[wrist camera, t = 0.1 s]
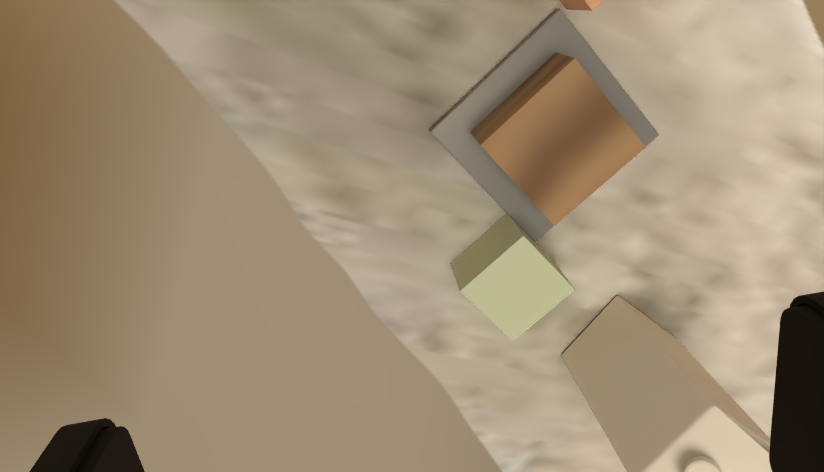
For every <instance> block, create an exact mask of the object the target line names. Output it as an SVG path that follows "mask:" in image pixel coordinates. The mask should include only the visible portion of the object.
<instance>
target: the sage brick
mask: <svg viewBox="0 0 824 472" xmlns="http://www.w3.org/2000/svg"><path fill="white" fill-rule="evenodd" d="M451 267H452V270H453V273H454V275H455V278H456V281H457V284H458V287H459V290H460V292H461V293H462V294H464V295H465V296H466V297H467V298H468V299H469V300H470V301H471V302H472V303H473V304H474V305H475V306H476V307H477V308H478V309H479V310H480V311H481V312H483V313H484V314H485V315H486V316H487V317H488V318H489V319H490V320H491V321H492V322H493V323H494V324H495V325H496V326H497V327H498V328H499V329H500V330H501V331H503V332H504V333H505V334H506V335H507V336H508V337H509V338H510V339H511V340H512V341H514V340H515V339H516V338H518V337H519V336H520V335H521V334H522V333H524V332H525V331H526V330H527V329H528V328H530V327H531V326H532V325H533V324H534V323H536V322H537V321H538V320H539V319H540V318H542V317H543V316H544V315H545V314H546V313H548V312H549V311H550V310H551V309H552V308H554V307H555V306H556V305H557V304H558V303H560V302H561V301H562V300H563V299H564V298H566V297H567V296H568V295H569V294H570V293H572V292H573V291H574V290H575V289H574V288H573V286H572V285H571V283H570V282H569V281H568V279H567V278H566V277H565V275H564V274H563V273H562V271H561V270H560V269H559V267H558V266H557V265H556V263H555V262H554V261H553V260H552V259H551V258H550V257H549V256H548V255H547V254H546V253H545V252H544V251H543V249H542V248H541V247H540V246H539V245H538V244H537V243H536V242H534V241H533V240H532V239H531V238H530V236H529V235H528V234H527V233H526V232H525V231H524V230H523V229H522V228H521V227H520V226H519V225H518V224H517V223H516V222H515V221H514V220H513V219H512V217H511V216H510V215H509V214H508V213H507V214H506V215H504V216H503V217H502V218H501V219H500V220H499V221H498V222H497V223H496V224H494V225H493V226H492V227H491V228H490V229H489V230H488V231H487V232H485V233H484V234H483V235H482V236H481V237H480V238H479V239H478V240H476V241H475V242H474V243H473V244H472V245H471V246H470V247H469V248H467V249H466V250H465V251H464V252H463V253H462V254H461V255H460V256H458V257H457V258H456V259H455V260H454V261H453V262H452V263H451Z"/></svg>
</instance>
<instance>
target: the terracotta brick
mask: <svg viewBox="0 0 824 472" xmlns="http://www.w3.org/2000/svg"><path fill="white" fill-rule="evenodd" d="M560 1H561V2H562V4H563V5H564V6H565V7H566V9H575V10H590V11H593V10H594V9H595V8H596V7H597V6H598V5H599V4H600V3H601V2H602V1H603V0H560Z"/></svg>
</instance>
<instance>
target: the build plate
mask: <svg viewBox="0 0 824 472" xmlns="http://www.w3.org/2000/svg"><path fill="white" fill-rule="evenodd" d="M555 53H559V54H563V55H566V56H570V57H573V58H575V59H576V60H577V61H578V62H579V64H580V65H581V66H582V68H583V69H584V70H585V71H586V73H587V74H588V75H589V76H590V78H591V79H592V80H593V81H594V83H595V84H596V85H597V86H598V88H599V89H600V90H601V91H602V93H603V94H604V95H605V96H606V98H607V99H608V100H609V101H610V103H611V104H612V105H613V106H614V108H615V109H616V110H617V111H618V113H619V114H620V115H621V116H622V118H623V119H624V120H625V121H626V123H627V124H628V125H629V126H630V128H631V129H632V130H633V131H634V133H635V134H636V135H637V136H638V138H639V139H640V140H641V141H642V143H643V144H644V145H645V146H647V145H648V144H649V143H650V142H651V141H653V140H654V139H655V138H656V137H657V136H658V135H659V134H658V133H657V132H656V130H655V129H654V128H653V127H652V125H651V124H650V123H649V121H648V120H647V119H646V118H645V116H644V115H643V114H642V112H641V111H640V110H639V109H638V107H637V106H636V105H635V104H634V102H633V101H632V100H631V98H630V97H629V96H628V95H627V93H626V92H625V91H624V89H623V88H622V87H621V86H620V84H619V83H618V82H617V80H616V79H615V78H614V77H613V75H612V74H611V73H610V72H609V70H608V69H607V68H606V66H605V65H604V64H603V63H602V61H601V60H600V59H599V57H598V56H597V55H596V54H595V52H594V51H593V50H592V49H591V47H590V46H589V45H588V43H587V42H586V41H585V40H584V38H583V37H582V36H581V34H580V33H579V32H578V31H577V29H576V28H575V27H574V25H573V24H572V23H571V22H570V20H569V19H568V18H567V17H566V15H565V14H564V13H563V11H562V10H561V9H556V10H555V11H554V12H553V13H552V14H551V15H550V16H549V17H548V18H547V19H546V20H545V21H544V22H542V23H541V24H540V25H539V26H538V27H537V28H536V29H535V30H534V31H533V32H532V33H531V34H530V35H529V36H528V37H527V38H526V39H525V40H523V41H522V42H521V43H520V44H519V45H518V46H517V47H516V48H515V49H514V50H513V51H512V52H511V53H510V54H509V55H508V56H507V57H506V58H505V59H503V60H502V61H501V62H500V63H499V64H498V65H497V66H496V67H495V68H494V69H493V70H492V71H491V72H490V73H489V74H488V75H487V76H486V77H485V78H483V79H482V80H481V81H480V82H479V83H478V84H477V85H476V86H475V87H474V88H473V89H472V90H471V91H470V92H469V93H468V94H467V95H466V96H464V97H463V98H462V99H461V100H460V101H459V102H458V103H457V104H456V105H455V106H454V107H453V108H452V109H451V110H450V111H449V112H448V113H447V114H446V115H444V116H443V117H442V118H441V119H440V120H439V121H438V122H437V123H436V124H435V125H434V126H433V127H432V128H431V129H430V132H431V133H432V134H433V135H434V136H435V137H436V138H437V139H438V140H439V141H440V142H441V144H442V145H443V146H444V147H445V148H446V149H447V150H448V151H449V152H450V153H451V154H452V155H453V156H454V157H455V158H456V159H457V160H458V161H459V163H460V164H461V165H462V166H463V167H464V168H465V169H466V170H467V171H468V172H469V173H470V174H471V175H472V176H473V177H474V178H475V179H476V180H477V182H478V183H479V184H480V185H481V186H482V187H483V188H484V189H485V190H486V191H487V192H488V193H489V194H490V195H491V196H492V197H493V198H494V200H495V201H496V202H497V203H498V204H499V205H500V206H501V207H502V208H503V209H504V210H505V211H506V212H507V213H508V214H509V215H510V216H511V217H512V219H513V220H514V221H515V222H516V223H517V224H518V225H519V226H520V227H521V228H522V229H523V230H524V231H525V232H526V233H527V234H528V235H529V236H530V238H531V239H532V240H533V241H534V242H536V241H537V240H538V239H539V238H540V237H541V236H543V235H544V234H545V233H546V232H547V231H548V230H550V229H551V228H552V227H553V226H554V225H553V224H552V223H551V221H550V220H549V219H548V218H547V217H546V216H545V215H544V214H543V213H542V212H541V211H540V209H539V208H538V207H537V206H536V205H535V204H534V203H533V202H532V201H531V200H530V199H529V198H528V196H527V195H526V194H525V193H524V192H523V191H522V190H521V189H520V188H519V187H518V186H517V184H516V183H515V182H514V181H513V180H512V179H511V178H510V177H509V176H508V175H507V174H506V173H505V171H504V170H503V169H502V168H501V167H500V166H499V165H498V164H497V163H496V162H495V161H494V159H493V158H492V157H491V156H490V155H489V154H488V153H487V152H486V151H485V150H484V149H483V147H482V146H481V145H480V144H479V143H478V142H477V141H476V139H475V138H474V137H473V136H472V135H471V133H470V132H471V131H472V130H473V129H474V128H475V127H476V126H477V125H479V124H480V123H481V122H482V121H483V120H484V119H485V118H486V117H487V116H488V115H489V114H490V113H491V112H492V111H494V110H495V109H496V108H497V107H498V106H499V105H500V104H501V103H502V102H503V101H504V100H505V99H506V98H507V97H509V96H510V95H511V94H512V93H513V92H514V91H515V90H516V89H517V88H518V87H519V86H520V85H521V84H523V83H524V82H525V81H526V80H527V79H528V78H529V77H530V76H531V75H532V74H533V73H534V72H535V71H536V70H538V69H539V68H540V67H541V66H542V65H543V64H544V63H545V62H546V61H547V60H548V59H549V58H550V57H551V56H553V55H554V54H555Z"/></svg>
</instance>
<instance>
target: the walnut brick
mask: <svg viewBox="0 0 824 472" xmlns="http://www.w3.org/2000/svg"><path fill="white" fill-rule="evenodd" d="M470 133H471V135H472V136H473V137H474V138H475V139H476V141H477V142H478V143H479V144H480V145H481V146H482V147H483V149H484V150H485V151H486V152H487V153H488V154H489V155H490V156H491V157H492V158H493V159H494V161H495V162H496V163H497V164H498V165H499V166H500V167H501V168H502V169H503V170H504V171H505V173H506V174H507V175H508V176H509V177H510V178H511V179H512V180H513V181H514V182H515V183H516V184H517V186H518V187H519V188H520V189H521V190H522V191H523V192H524V193H525V194H526V195H527V196H528V198H529V199H530V200H531V201H532V202H533V203H534V204H535V205H536V206H537V207H538V208H539V209H540V211H541V212H542V213H543V214H544V215H545V216H546V217H547V218H548V219H549V220H550V221H551V223H552V224H553V225H554V226H555V225H556V224H557V223H558V222H560V221H561V220H562V219H563V218H564V217H565V216H567V215H568V214H569V213H570V212H571V211H572V210H574V209H575V208H576V207H577V206H578V205H579V204H580V203H582V202H583V201H584V200H585V199H586V198H587V197H589V196H590V195H591V194H592V193H593V192H594V191H596V190H597V189H598V188H599V187H600V186H601V185H603V184H604V183H605V182H606V181H607V180H608V179H609V178H611V177H612V176H613V175H614V174H615V173H616V172H618V171H619V170H620V169H621V168H622V167H623V166H625V165H626V164H627V163H628V162H629V161H630V160H631V159H633V158H634V157H635V156H636V155H637V154H638V153H640V152H641V151H642V150H643V149H644V148H645V147H646V146H645V145H644V144H643V143H642V141H641V140H640V139H639V138H638V136H637V135H636V134H635V133H634V131H633V130H632V129H631V128H630V126H629V125H628V124H627V123H626V121H625V120H624V119H623V118H622V116H621V115H620V114H619V113H618V111H617V110H616V109H615V108H614V106H613V105H612V104H611V103H610V101H609V100H608V99H607V98H606V96H605V95H604V94H603V93H602V91H601V90H600V89H599V88H598V86H597V85H596V84H595V83H594V81H593V80H592V79H591V78H590V76H589V75H588V74H587V73H586V71H585V70H584V69H583V68H582V66H581V65H580V64H579V62H578V61H577V60H576V59H575V58H573V57H570V56H566V55H563V54H559V53H555V54H554V55H553V56H551V57H550V58H549V59H548V60H547V61H546V62H545V63H544V64H543V65H542V66H541V67H540V68H539V69H538V70H536V71H535V72H534V73H533V74H532V75H531V76H530V77H529V78H528V79H527V80H526V81H525V82H524V83H523V84H521V85H520V86H519V87H518V88H517V89H516V90H515V91H514V92H513V93H512V94H511V95H510V96H509V97H507V98H506V99H505V100H504V101H503V102H502V103H501V104H500V105H499V106H498V107H497V108H496V109H495V110H494V111H492V112H491V113H490V114H489V115H488V116H487V117H486V118H485V119H484V120H483V121H482V122H481V123H480V124H479V125H477V126H476V127H475V128H474V129H473V130H472V131H471V132H470Z"/></svg>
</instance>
